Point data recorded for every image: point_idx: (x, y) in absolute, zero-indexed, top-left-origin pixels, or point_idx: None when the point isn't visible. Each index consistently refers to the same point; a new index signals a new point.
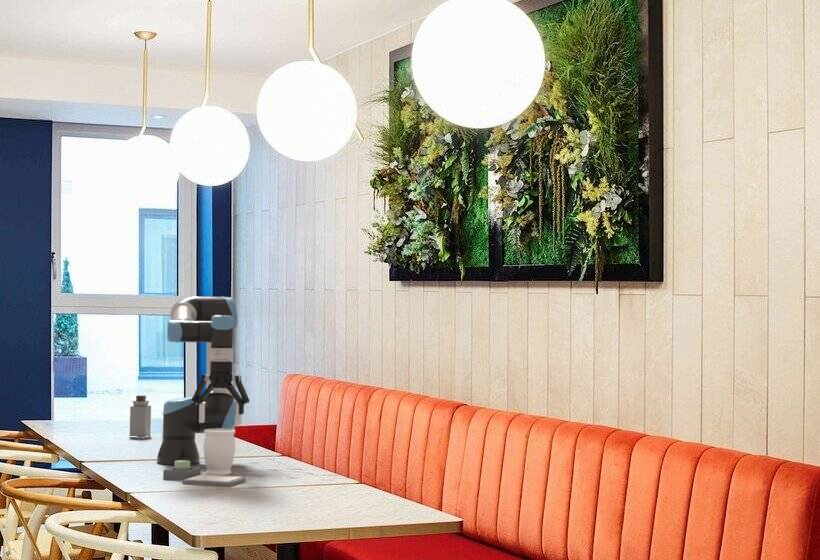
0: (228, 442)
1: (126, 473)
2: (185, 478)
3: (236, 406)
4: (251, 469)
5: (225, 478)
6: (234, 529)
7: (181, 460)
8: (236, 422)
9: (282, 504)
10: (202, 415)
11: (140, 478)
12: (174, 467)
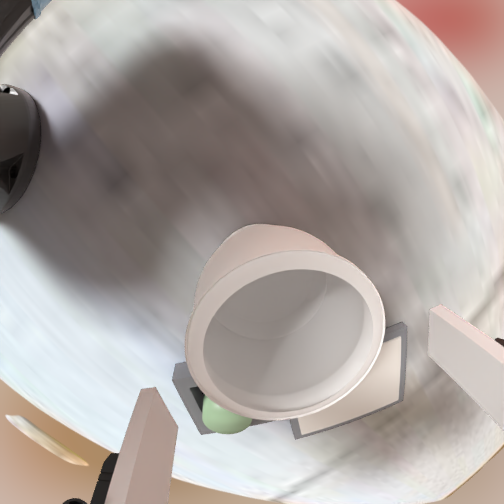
0: (352, 331)
1: (66, 391)
2: None
3: (498, 423)
4: (279, 101)
5: (378, 380)
6: (461, 480)
7: (211, 411)
8: (437, 359)
9: None
10: (162, 451)
11: None
12: (186, 397)
